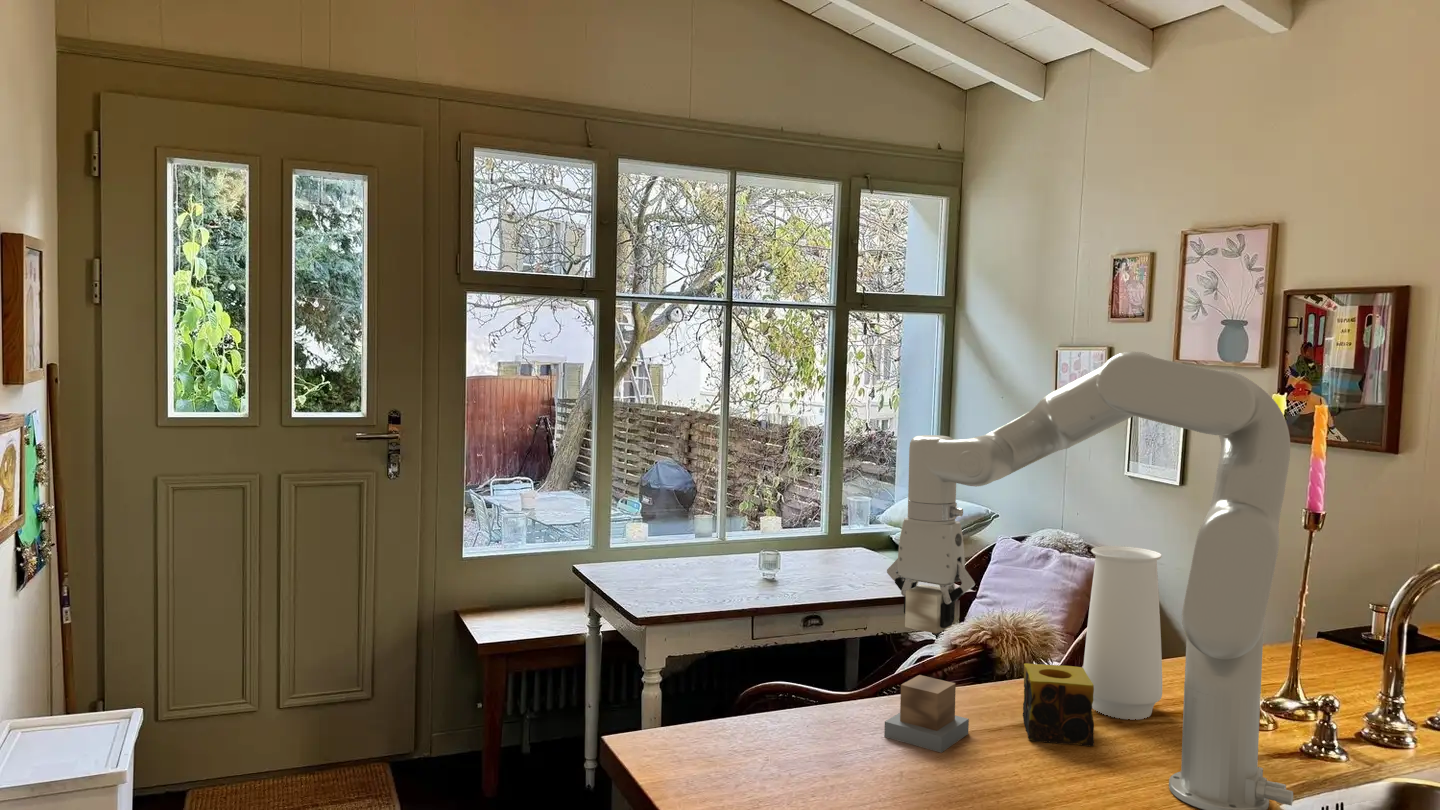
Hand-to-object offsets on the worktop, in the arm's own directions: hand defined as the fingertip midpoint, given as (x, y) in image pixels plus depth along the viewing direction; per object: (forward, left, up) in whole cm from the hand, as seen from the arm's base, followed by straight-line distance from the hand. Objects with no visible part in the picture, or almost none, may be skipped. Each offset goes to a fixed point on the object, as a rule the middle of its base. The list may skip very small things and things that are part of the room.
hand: (928, 621), depth 159 cm
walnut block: (0, 0, -16) cm, 16 cm away
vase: (-21, -33, -19) cm, 43 cm away
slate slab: (0, 0, -19) cm, 19 cm away
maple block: (0, 0, -1) cm, 1 cm away
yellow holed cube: (-16, -15, -19) cm, 29 cm away
